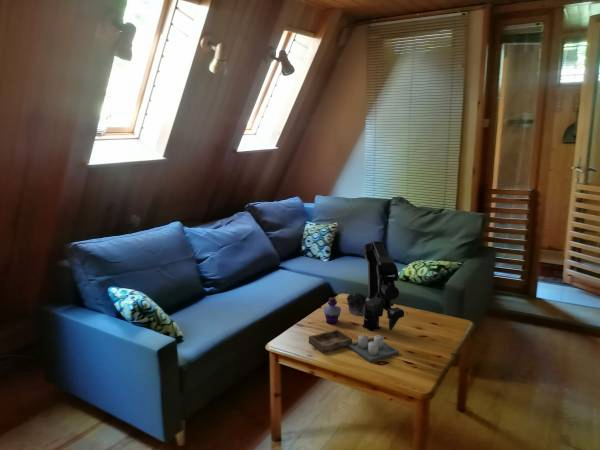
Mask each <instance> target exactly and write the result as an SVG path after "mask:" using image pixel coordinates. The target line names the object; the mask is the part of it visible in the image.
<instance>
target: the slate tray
mask: <svg viewBox="0 0 600 450" xmlns="http://www.w3.org/2000/svg"><path fill="white" fill-rule="evenodd" d="M369 342H374V337H370V338H368V343H369ZM368 343H367V348H366V349H360V348H358V341H355V342H352V343H351V344H348V347H347V348H348V349H350V350H351V351H352V352H354V353H356V354H357V355H358V356H359V357H361V358H363V359H364V360H365V361H367V362H368V363H370V364H371V363H374V362H377V361H380V360H383V359H384V360H385V359H387V358H390V357H393V356H396V355H399V353H400V352H399V350H398V349H396V348H395V347H393V346H391V345H390V344H389V343H387V342H386V341H383V349H380V350H379V349H378V355H377V356H370V355H368Z"/></svg>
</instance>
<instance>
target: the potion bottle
mask: <svg viewBox="0 0 600 450" xmlns="http://www.w3.org/2000/svg"><path fill="white" fill-rule="evenodd" d="M327 304H328V305H325V306H323V312H324V315H325V322H326V324H328V325H336V324H337V323H338V320H339V316H341V311H342V309H341V307H340V306H338V305H337V304H338V300H337V299H336V298H335V297H329V298H328V300H327Z"/></svg>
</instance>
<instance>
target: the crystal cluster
mask: <svg viewBox="0 0 600 450" xmlns="http://www.w3.org/2000/svg"><path fill="white" fill-rule="evenodd" d="M366 298H367V296H366V295H364V294H363V293H354V294H352V293H350V294H348V295H347V297H346V300H347V305H348V311H349V312H350V313H351V314H352V315H355V316H364V315H363V313H362V308H363V306H364V304H365V299H366Z"/></svg>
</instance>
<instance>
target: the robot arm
mask: <svg viewBox="0 0 600 450" xmlns="http://www.w3.org/2000/svg"><path fill="white" fill-rule="evenodd" d="M362 251H363V255H364V259H365V261H366V262H367V277H368V280H367V283H368V285H367V286H368V287H367V288H368V289H367V291H368V292H367V293H368V295H367V296H366V297H367V298H366V299H365V304H364V306H363V308H362V313H363V315H362V316H363V324H362V325H361V326H362V327H363V328H364V329H366V330H368V331H370V332H372V331H375V330H379V329H381V328H382V326H381V325H380V317H383V315H384V314H383V313H384V310H385V311H387V312H386V315H387V316H386V318H387V319H388V330H389V331H392V330H393V329H394V327H395V325H396V324H397V322H398V321H399V320H400V319H402V318H404V317H405V311H404V309H402V308H400V307H398V306H395V307H393V306H394V305H395V304H394V303H393V302H392V301H393V300H396V299H398V297H399V295H400V290H399V288H398V287H397V286H396V283H395V282H398V281H399V277H400V275H399V270H398V267H397V265H396V263H395V262H394V260H393V259H391V258H390V257H388V254H387V252H386V250H385V247H384V242H383V241H380V240H379V241H378V240H377V241H370V242H369V243H365V245H364V246H363V249H362ZM379 325H380V326H379Z"/></svg>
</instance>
